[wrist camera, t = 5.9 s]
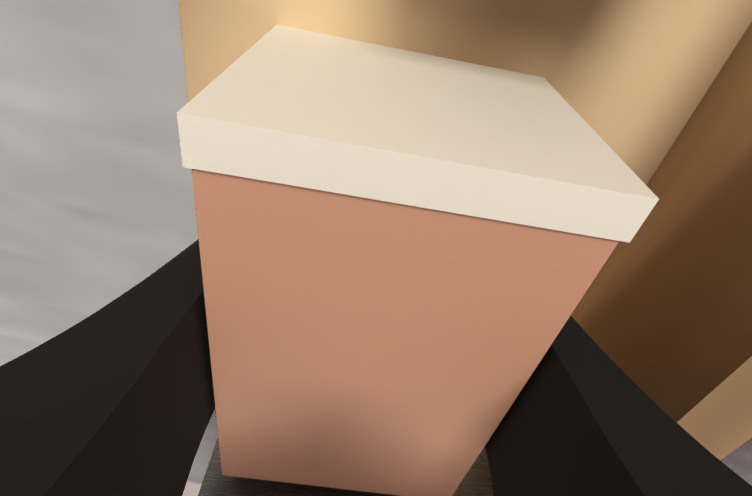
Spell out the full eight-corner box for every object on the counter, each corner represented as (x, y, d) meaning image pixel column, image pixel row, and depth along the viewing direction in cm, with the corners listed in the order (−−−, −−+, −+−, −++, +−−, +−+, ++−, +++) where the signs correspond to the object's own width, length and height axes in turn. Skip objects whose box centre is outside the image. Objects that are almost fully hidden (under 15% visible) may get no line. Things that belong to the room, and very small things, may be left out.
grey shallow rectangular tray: (474, 365, 14) (508, 550, 10) (452, 409, 15) (473, 583, 11) (253, 334, 13) (191, 516, 9) (253, 382, 15) (200, 556, 11)
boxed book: (544, 77, 8) (659, 198, 5) (435, 346, 13) (450, 506, 9) (276, 24, 8) (176, 112, 4) (268, 321, 13) (218, 479, 9)
